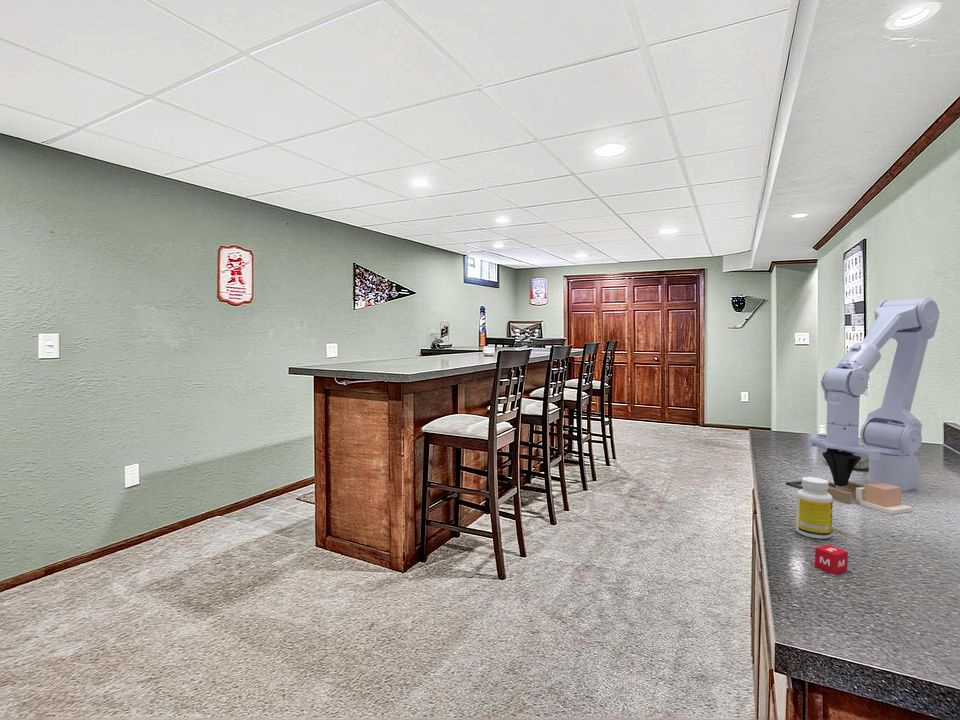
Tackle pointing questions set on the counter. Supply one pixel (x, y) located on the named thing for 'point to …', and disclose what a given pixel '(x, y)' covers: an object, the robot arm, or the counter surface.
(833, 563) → the red letter cube
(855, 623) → the counter surface
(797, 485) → the pit
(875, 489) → the block
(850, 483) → the track
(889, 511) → the cream low channel
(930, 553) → the counter surface
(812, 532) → the supplement bottle
